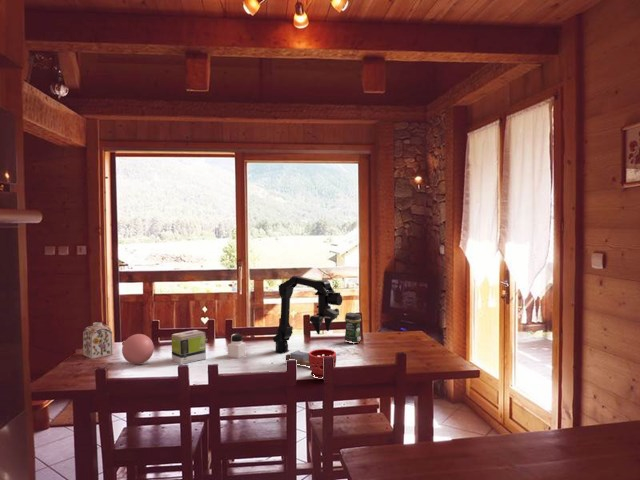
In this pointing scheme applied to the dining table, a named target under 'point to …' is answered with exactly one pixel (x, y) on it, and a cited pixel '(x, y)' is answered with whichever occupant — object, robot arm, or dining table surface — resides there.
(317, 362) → the plant pot
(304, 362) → the chute
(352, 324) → the coffee jar
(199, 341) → the tea box
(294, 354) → the block
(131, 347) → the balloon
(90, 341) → the decorative jar
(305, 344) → the dining table surface
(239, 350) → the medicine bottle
